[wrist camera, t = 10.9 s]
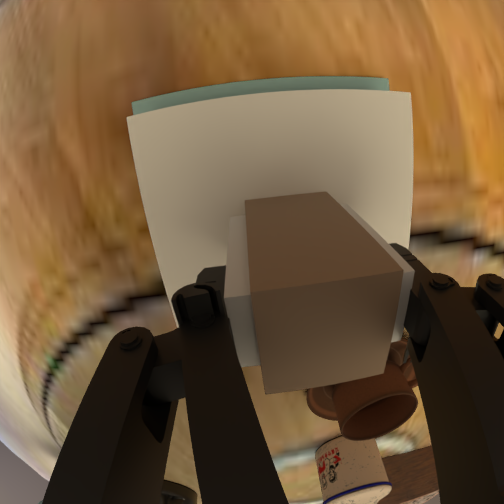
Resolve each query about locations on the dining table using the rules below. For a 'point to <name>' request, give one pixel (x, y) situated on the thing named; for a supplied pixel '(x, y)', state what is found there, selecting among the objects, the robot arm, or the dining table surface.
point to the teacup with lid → (351, 472)
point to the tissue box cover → (411, 477)
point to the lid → (288, 217)
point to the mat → (258, 89)
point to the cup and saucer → (370, 399)
